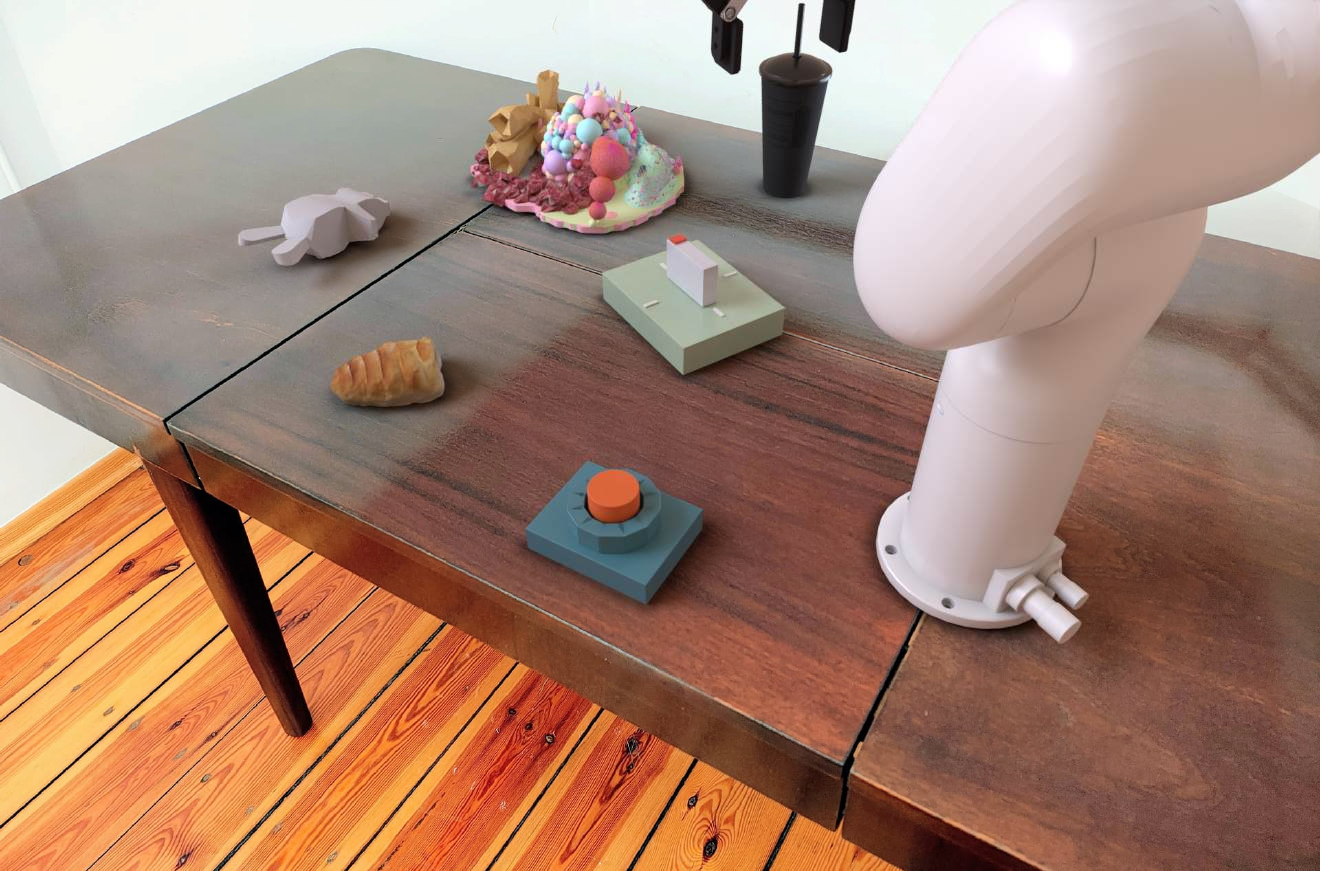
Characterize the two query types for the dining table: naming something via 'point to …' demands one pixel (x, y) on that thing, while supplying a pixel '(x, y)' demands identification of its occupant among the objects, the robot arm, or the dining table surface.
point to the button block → (616, 535)
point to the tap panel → (692, 311)
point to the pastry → (391, 375)
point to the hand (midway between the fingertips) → (780, 57)
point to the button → (613, 496)
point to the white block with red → (692, 270)
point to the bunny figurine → (322, 225)
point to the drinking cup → (791, 115)
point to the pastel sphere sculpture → (575, 162)
